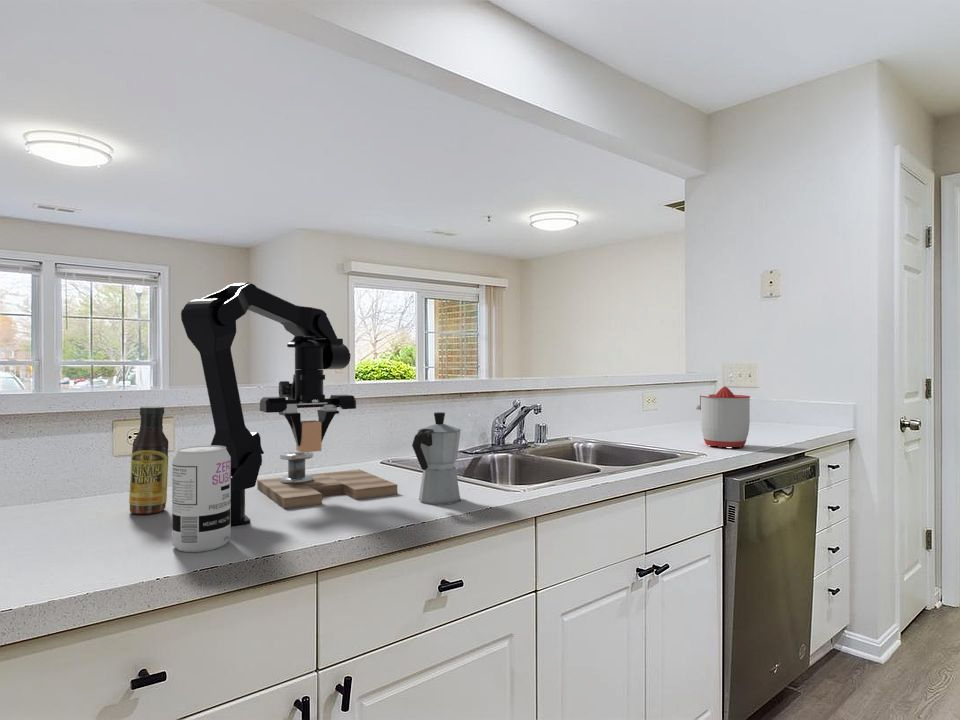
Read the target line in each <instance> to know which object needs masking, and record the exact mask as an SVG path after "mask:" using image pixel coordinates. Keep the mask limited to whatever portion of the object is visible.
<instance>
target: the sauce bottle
mask: <svg viewBox="0 0 960 720" xmlns="http://www.w3.org/2000/svg"><path fill="white" fill-rule="evenodd" d="M164 414H165V407H164V406H160V405H159V406H157V405H156V406H155V405H153V406H152V405H149V406H148V405H147V406H145V405H144V406H140V408H139V415H140V426H139V431H138V433H137V434H136V437H135V438H134V439H133V442H132V449H131V457H130V477H129V480H130V481H129V500H128V503H129V513H131V514H135V515H148V514H149V515H151V514H153V515H154V514H158V513H160V512H163V511H164V510H165V509H166V507H167V505H166V504H167V501H168V499H167V498H168V497H167V496H168V475H169V474H168V472H169V439H168V438H167V436H166V435H165V433H164V431H163V429H164V426H163V419H164Z"/></svg>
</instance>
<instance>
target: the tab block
mask: <svg viewBox="0 0 960 720" xmlns="http://www.w3.org/2000/svg"><path fill="white" fill-rule="evenodd" d="M295 444H296V443H295ZM295 447H296V451H300V452H313V453H314V452H322V443H321V422H320V421H318V420H301V443H300V446H297V444H296V446H295Z"/></svg>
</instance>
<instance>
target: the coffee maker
mask: <svg viewBox="0 0 960 720" xmlns="http://www.w3.org/2000/svg"><path fill="white" fill-rule="evenodd" d="M433 415H434V424H431V425H428V426H425V427H423V428H420V429H418V430H417V431H418V432H417V434H415V435H414V437H413V442H412V444H411V447H412V449H413V451H414V453H415V456H416V458H417V461H418V464H419V466H420V468H421V470H422V475H421V476H422V477H421V483H420V490H419V495H418V500H419V502H420V503H421V504H426V505H432V504H433V505H434V506H438V505H437V504H442V505H450V504H449V503H453V504H455V503H454V502H456V503H457V501H458V502H460V501H459V500H461V495H460V487H459V480H458V475H457V468H456V465H455V462H456V461H457V460H458V452H459V445H460V437H461V432H462V431H461V428H458V427H455V426H451V425H449V424H445V423H444V421H445V416H446V412H439V411H437V412H433ZM433 505H432V506H433Z"/></svg>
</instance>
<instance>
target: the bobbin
mask: <svg viewBox="0 0 960 720" xmlns="http://www.w3.org/2000/svg"><path fill="white" fill-rule="evenodd" d="M279 458H280V460H285V461H287V469H288V470H287V475H283V476H281V478H280V477H279V478H280V483H283V484H303V483H309V482H312V481H313V476H312V475H309V474H306V460H308V459H312V458H314V452H300V451H297V450H296V451H288V452H287V451H286V452H281V453H280V454H279Z"/></svg>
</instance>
